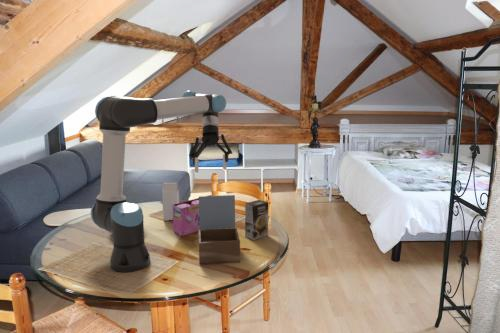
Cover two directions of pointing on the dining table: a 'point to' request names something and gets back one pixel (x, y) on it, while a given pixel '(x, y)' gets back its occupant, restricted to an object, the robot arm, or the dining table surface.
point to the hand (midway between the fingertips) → (210, 170)
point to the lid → (217, 212)
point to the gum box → (186, 217)
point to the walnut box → (219, 246)
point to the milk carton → (169, 199)
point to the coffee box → (256, 219)
